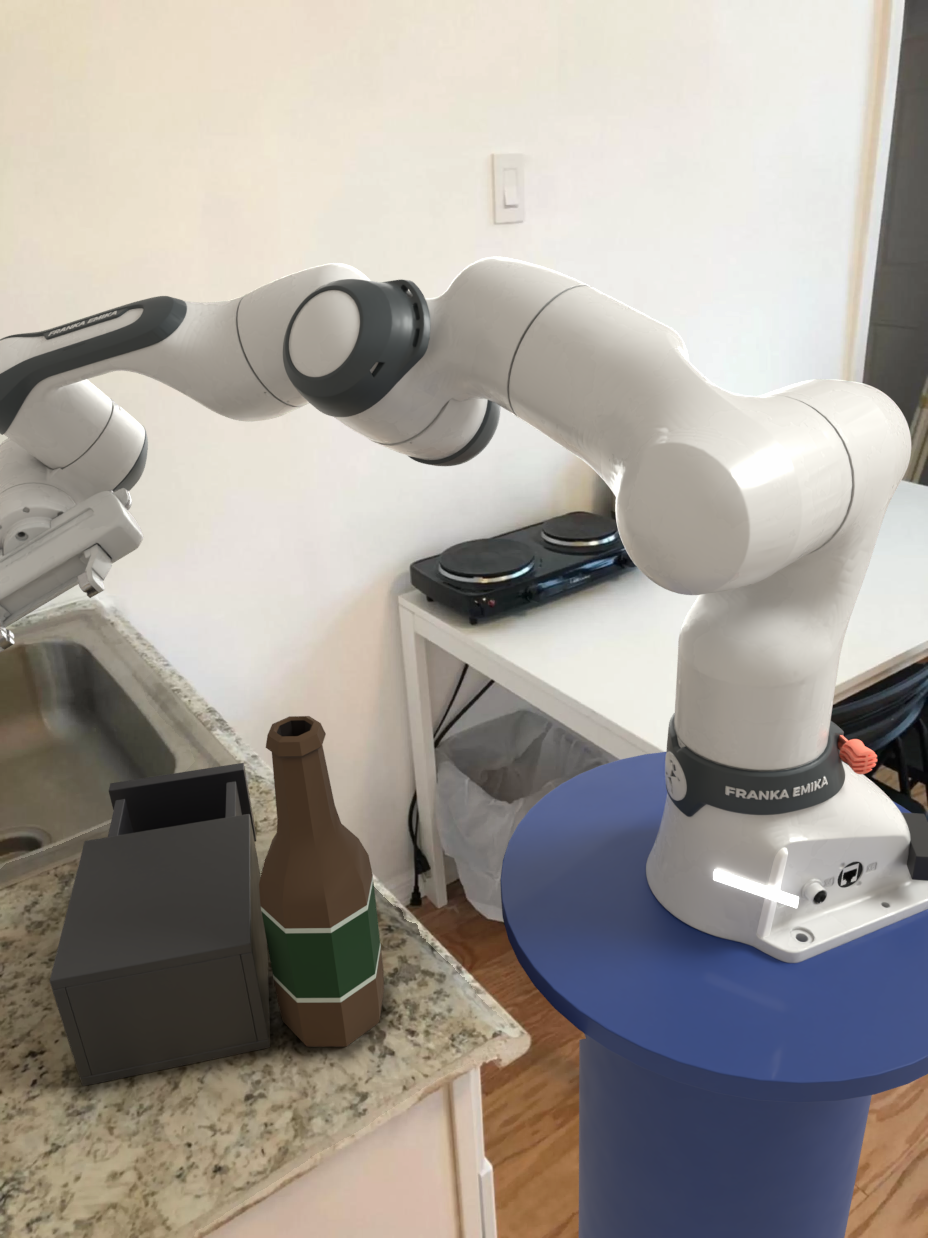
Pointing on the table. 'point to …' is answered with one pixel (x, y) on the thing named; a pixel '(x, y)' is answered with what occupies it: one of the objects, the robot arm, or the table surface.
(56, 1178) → the table surface
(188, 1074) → the table surface
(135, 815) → the drawer
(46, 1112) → the table surface
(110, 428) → the robot arm
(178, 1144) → the table surface
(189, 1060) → the cabinet
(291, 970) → the beer bottle
